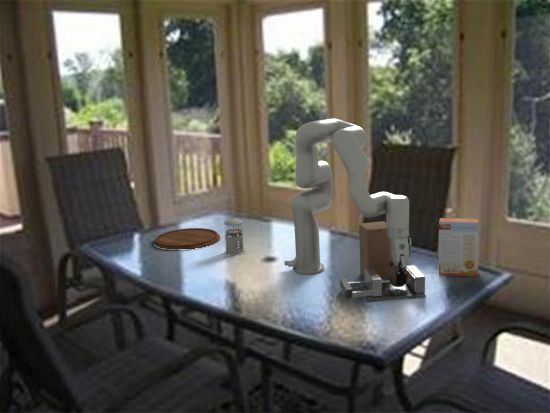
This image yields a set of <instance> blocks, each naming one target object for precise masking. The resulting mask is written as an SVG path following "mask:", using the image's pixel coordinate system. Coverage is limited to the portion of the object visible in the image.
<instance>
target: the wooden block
mask: <svg viewBox="0 0 550 413" xmlns="http://www.w3.org/2000/svg"><path fill="white" fill-rule="evenodd" d="M358 226H359V228H358V231H359V233H358V234H359V271H360V275H362V277H363V278H364V279H365V268H374V270H375V271H376V272H377V274H378V275H379V276H380V278H381V279H382V281H387V280H388V281H389V279H388V272H389V269H390V261H391V260H390V259H389V237H387V221H386V222H385V221H384V220H382V221H374V222H362V223H359V224H358Z"/></svg>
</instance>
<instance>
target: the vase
mask: <svg viewBox="0 0 550 413" xmlns="http://www.w3.org/2000/svg"><path fill="white" fill-rule="evenodd" d="M398 265H401V263H398ZM400 268H401V267H399V270H400ZM396 274H397V267H396V265H394V264H393V265H392V266H391V267H390V269H389V272H388V279H389V280H388V282H390V283H391V285H393V286H394V287H403V286H404V285H405V284H404V285H397V284H396ZM407 281H408V271H407V269H406V283H407Z"/></svg>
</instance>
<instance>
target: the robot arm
mask: <svg viewBox="0 0 550 413" xmlns="http://www.w3.org/2000/svg"><path fill="white" fill-rule="evenodd" d="M294 136H295V138H294V139H295V151H296V154H295V172H294V173H295V183H296V185H297V187H299V188H300V189H306V190H303V191H300V192H297V193H296V194H295V195H293V197H291V200H290V208H291V209H290V210H291V213H292V217H293V225H294V226H293V227H294V241H295V242H294V245H295V257H294V259H292V260H284V266H285V267H286V266H288V267H289V268H291V267H292V271H293V272H294V273H296V274H300V275H313V274H319V273H322V272H323V271H324V270H325V265H324V264H323V263H321V252H320V251H321V249H320V247H321V246H320V227H319V221H318V220H317V218H316V215H315V214H317V213H320V212H323V211H326V210H327V209H329V207H330V205H331V203H332V194H333V177H334V176H333V170H332V168H331V165H329V162H327V161H324V160H319V156H320V154H319V150H318V146H317V145H320V144H321V145H322V144H325V143H330V142H331V145H332V147H333V149H334V150H335V153H336V154H337V156H338V158H339V160H340V161H341V163H342V164H343V167H344V168H345V171H346V173H347V174H348V183H347V184H348V193H349V196H350V199H351V201H352V203H353V205H355V206H354V207H356V209H357V211H358V212H359V213H360V214H361V216H363V217H364V218H368V219H370V218H371V219H372V218H375V217H378V216H381V215H384V214H385V215H386V223H387V237H389V259H390V260H391V261H390V267H391V266H392V265H393V264H394V265H396V267H397V274H396V284H397V285H404V284H406V266H410V257H409V245H408V238H409V236H410V200H409V198H408V197H407V196H406V195H402V194H393V193H390V192H388V191H379V192H376V193H373V194H370V192H369V191H368V189H367V186H366V183H365V176H366V172H367V170H368V169H369V168H370V165H371V162H370V160H369V158H368V156H367V155H366V154H365V151H364V150H363V148H364V147H365V146H366V145H367V143H368V135H367V133H366V131H365V130H364V129H363V128H362V127H360V126H358V125H356V124H353V123H350V122H346V121H344V120H341V119H339V118H327V119H320V120H313V121H309V122H307V123H304V124H302V125H300V126H299V128H298V129H297V130H296V133H295V135H294ZM398 263H401V265H398ZM288 267H287V268H288ZM399 267H401V268H400V270H399Z"/></svg>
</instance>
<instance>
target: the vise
mask: <svg viewBox="0 0 550 413" xmlns="http://www.w3.org/2000/svg"><path fill="white" fill-rule="evenodd" d="M406 269H407V271H408V281H407V283H406V284H405V285H404V286H403V287H394V286H393V285H391V283H390V282H389V281H386V282H385V281H384V282H382V296H374V297H373V296H364V298H365V300H366V301H367V303H376V302H377V303H378V302H387V301H388V302H389V301H400V300H411V299H413V300H414V299H423V298H424V299H425V298H427V294H426V276H425V275H424V274H423V273H422V272H421V270H419V269H418V267H416V265H414V264H413V265H406ZM358 288H359V291H365V290H368V288H367V286H364V287H358Z"/></svg>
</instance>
